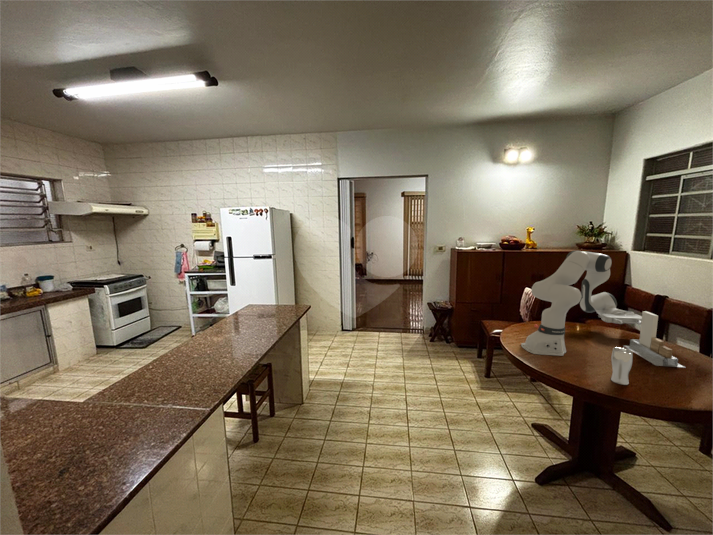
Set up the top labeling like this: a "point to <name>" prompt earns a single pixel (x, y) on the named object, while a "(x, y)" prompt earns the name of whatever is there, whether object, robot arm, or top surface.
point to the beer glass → (621, 365)
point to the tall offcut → (656, 344)
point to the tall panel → (648, 328)
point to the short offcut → (665, 351)
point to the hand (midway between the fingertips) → (631, 322)
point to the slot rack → (652, 355)
